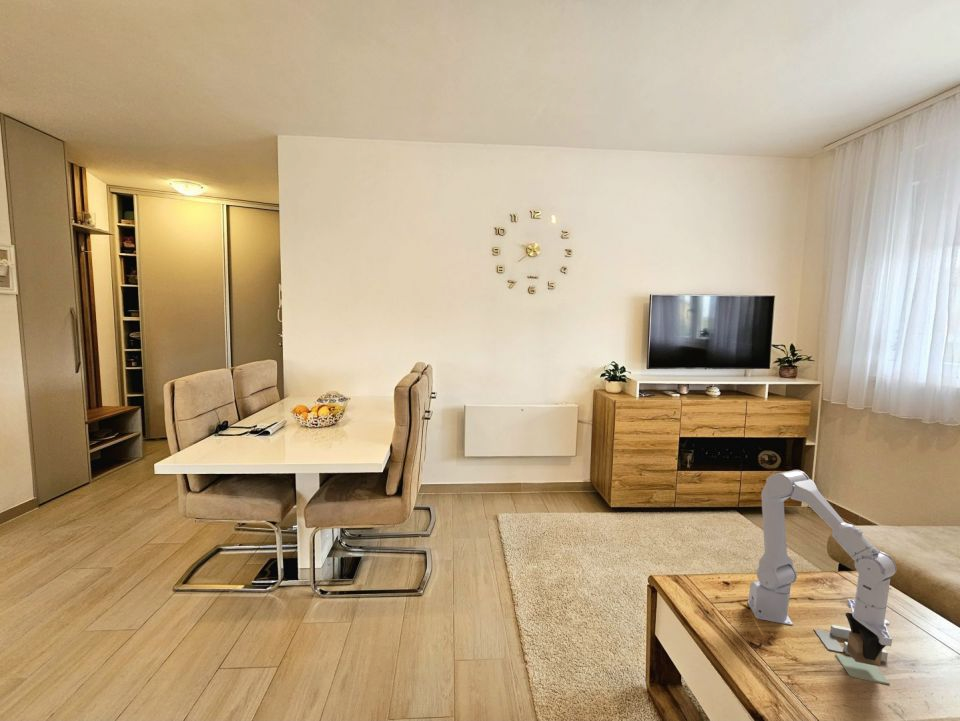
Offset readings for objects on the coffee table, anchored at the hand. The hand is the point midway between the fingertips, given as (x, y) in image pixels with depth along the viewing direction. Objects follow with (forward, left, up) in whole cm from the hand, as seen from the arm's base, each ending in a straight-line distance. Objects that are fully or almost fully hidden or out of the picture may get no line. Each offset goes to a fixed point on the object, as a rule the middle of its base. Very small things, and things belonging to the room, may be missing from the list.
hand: (863, 651), depth 109 cm
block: (0, 0, -2) cm, 2 cm away
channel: (+1, +9, -5) cm, 10 cm away
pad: (0, 0, -5) cm, 5 cm away
